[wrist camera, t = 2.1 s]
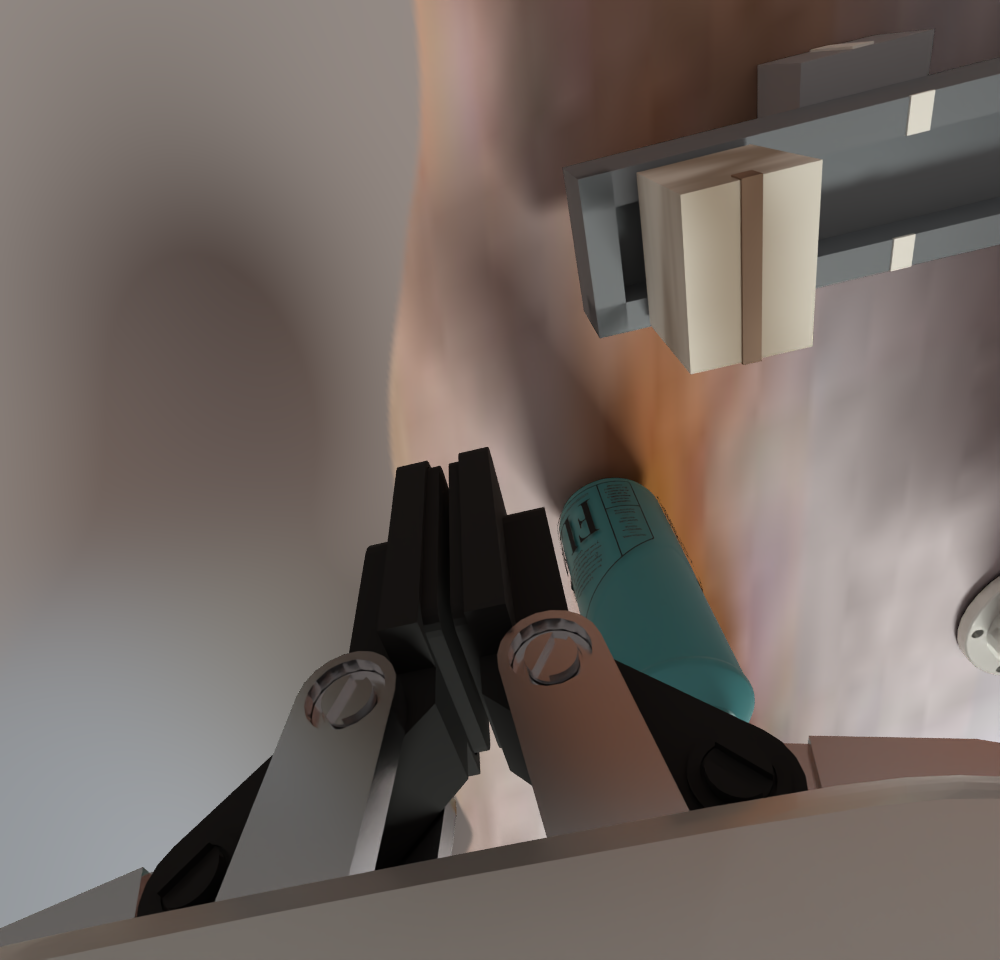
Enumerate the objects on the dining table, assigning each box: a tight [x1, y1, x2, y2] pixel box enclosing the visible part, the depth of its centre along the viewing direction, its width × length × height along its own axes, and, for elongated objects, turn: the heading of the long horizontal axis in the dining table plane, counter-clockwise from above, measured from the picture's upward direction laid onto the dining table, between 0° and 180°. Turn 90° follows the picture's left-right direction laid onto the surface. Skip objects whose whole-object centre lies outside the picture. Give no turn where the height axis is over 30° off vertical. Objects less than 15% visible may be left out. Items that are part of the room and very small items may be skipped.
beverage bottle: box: [557, 478, 755, 723], centre depth 31 cm, size 6×7×20 cm
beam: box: [563, 29, 1000, 338], centre depth 26 cm, size 24×9×8 cm, turn 102°
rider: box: [636, 144, 823, 374], centre depth 22 cm, size 4×6×7 cm
